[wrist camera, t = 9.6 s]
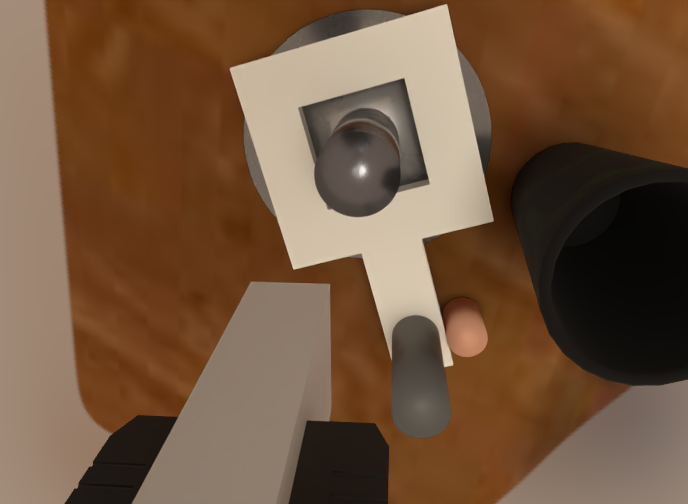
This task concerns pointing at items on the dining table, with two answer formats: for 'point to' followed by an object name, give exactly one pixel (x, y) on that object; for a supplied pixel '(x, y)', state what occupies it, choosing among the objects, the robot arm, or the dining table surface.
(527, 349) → the dining table surface
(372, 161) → the base
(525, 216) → the cup
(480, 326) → the dowel
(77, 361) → the dining table surface
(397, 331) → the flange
